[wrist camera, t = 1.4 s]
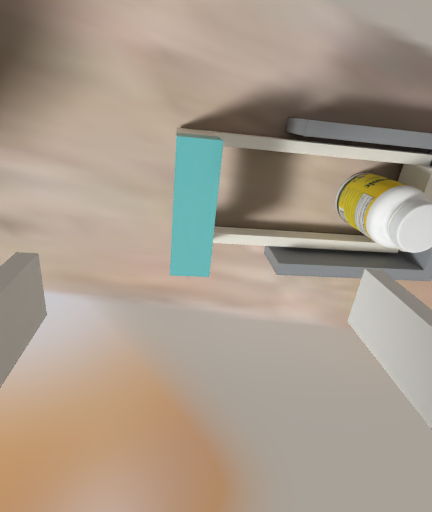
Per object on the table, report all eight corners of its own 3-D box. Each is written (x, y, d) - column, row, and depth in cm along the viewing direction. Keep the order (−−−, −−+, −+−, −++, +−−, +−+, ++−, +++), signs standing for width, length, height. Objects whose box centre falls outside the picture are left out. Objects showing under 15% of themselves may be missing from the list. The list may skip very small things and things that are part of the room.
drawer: (172, 233, 33) (169, 275, 24) (177, 127, 28) (176, 135, 20) (386, 245, 36) (447, 286, 28) (418, 152, 32) (501, 168, 24)
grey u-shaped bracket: (264, 253, 35) (276, 274, 30) (288, 117, 29) (308, 119, 25) (399, 259, 37) (430, 281, 33) (446, 135, 32) (490, 140, 27)
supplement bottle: (391, 175, 33) (470, 201, 24) (372, 225, 35) (437, 266, 26) (343, 167, 32) (407, 190, 23) (326, 218, 34) (378, 258, 25)
